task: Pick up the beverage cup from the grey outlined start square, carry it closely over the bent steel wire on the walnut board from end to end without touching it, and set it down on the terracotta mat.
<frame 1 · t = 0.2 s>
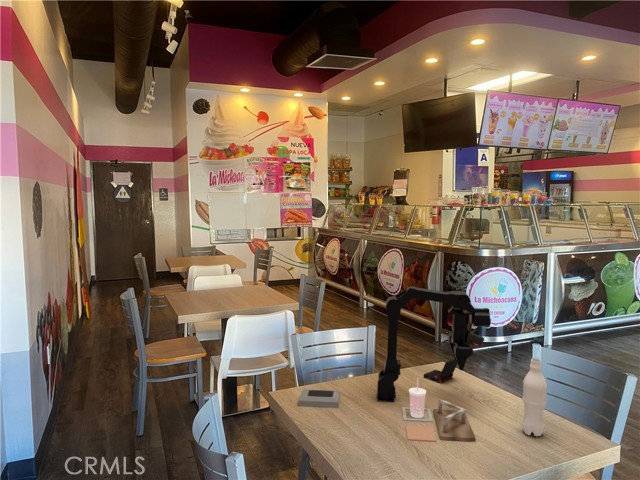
hand: (459, 365, 181), 14 cm above the table, tool pointing down, fingers open, 9 cm apart
dark piece: (440, 379, 206), on the table
end mat: (420, 434, 158), on the table
keypad: (319, 403, 183), on the table
water bottle: (532, 433, 158), on the table
beverage cup: (417, 415, 171), resting in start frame
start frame: (417, 414, 171), on the table
wire board: (452, 426, 163), on the table
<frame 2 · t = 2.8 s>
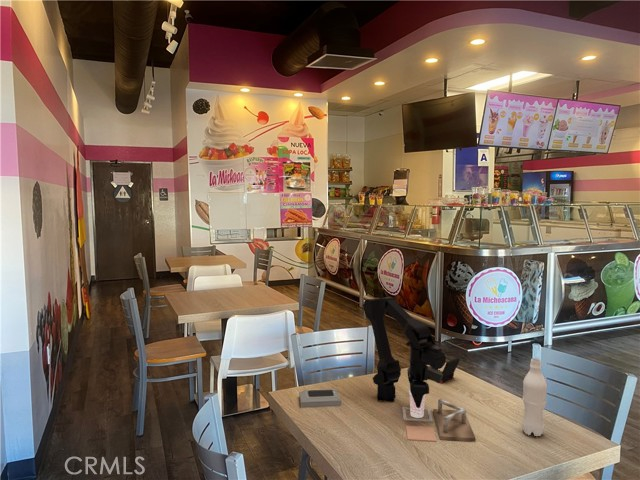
hand: (417, 402, 171), 5 cm above the table, tool pointing down, fingers closed on beverage cup, 8 cm apart
beverage cup: (417, 415, 171), resting in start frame, touching gripper
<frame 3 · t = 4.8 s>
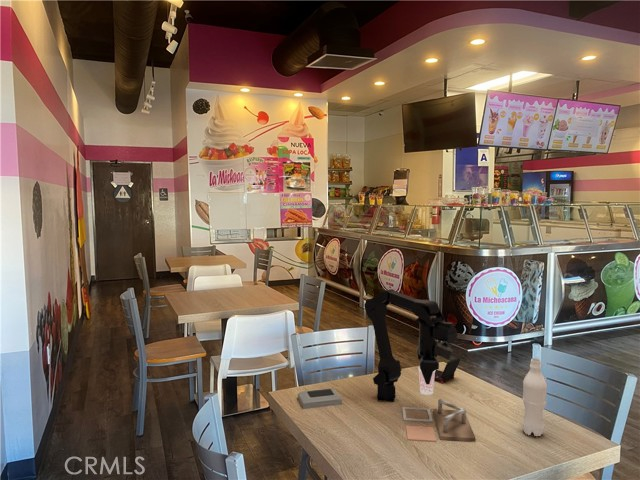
hand: (426, 380, 170), 13 cm above the table, tool pointing down, fingers closed on beverage cup, 7 cm apart
beverage cup: (426, 392, 170), point 8 cm above the table, touching gripper
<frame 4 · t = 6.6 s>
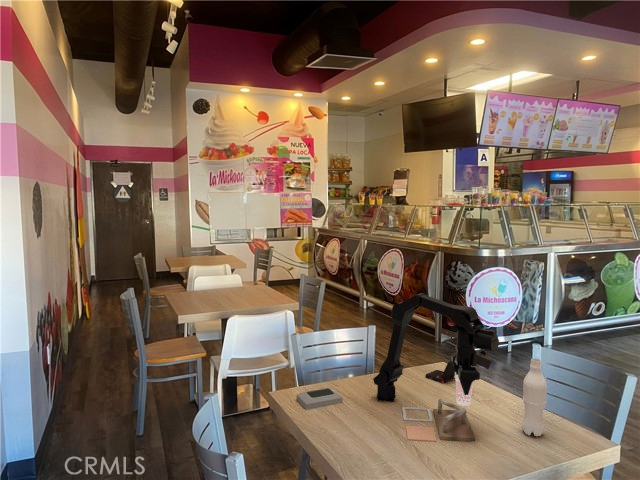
hand: (464, 390, 161), 13 cm above the table, tool pointing down, fingers closed on beverage cup, 7 cm apart
beverage cup: (463, 403, 162), point 8 cm above the table, touching gripper
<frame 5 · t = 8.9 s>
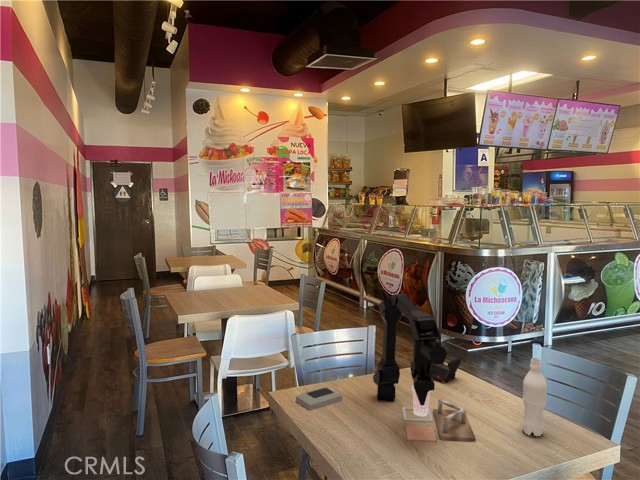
hand: (421, 400, 157), 12 cm above the table, tool pointing down, fingers closed on beverage cup, 7 cm apart
beverage cup: (420, 413, 157), point 7 cm above the table, touching gripper
when the fingers open (6 cm above the table, at t = 10.8 s): beverage cup stays where it is, resting on end mat.
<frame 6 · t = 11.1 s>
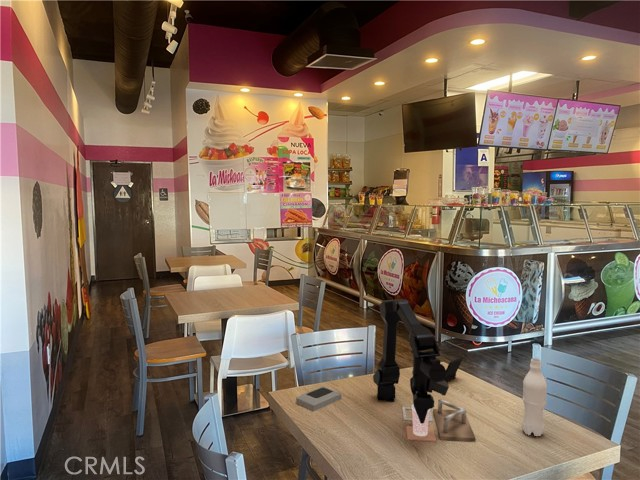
hand: (420, 416, 157), 6 cm above the table, tool pointing down, fingers open, 9 cm apart
beverage cup: (420, 433, 158), resting on end mat
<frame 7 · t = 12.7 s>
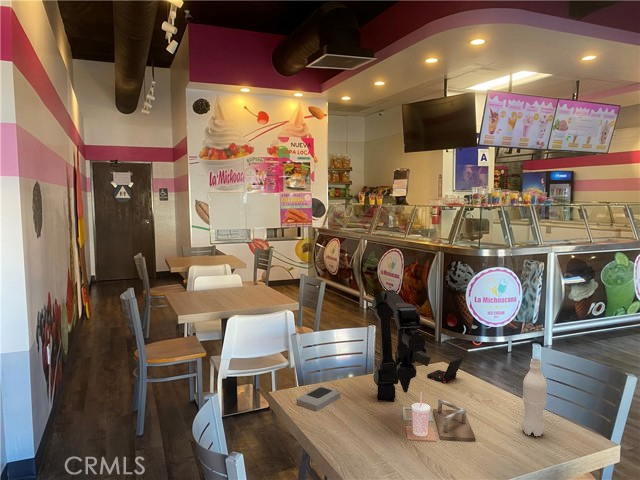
hand: (404, 386, 164), 13 cm above the table, tool pointing down, fingers open, 9 cm apart
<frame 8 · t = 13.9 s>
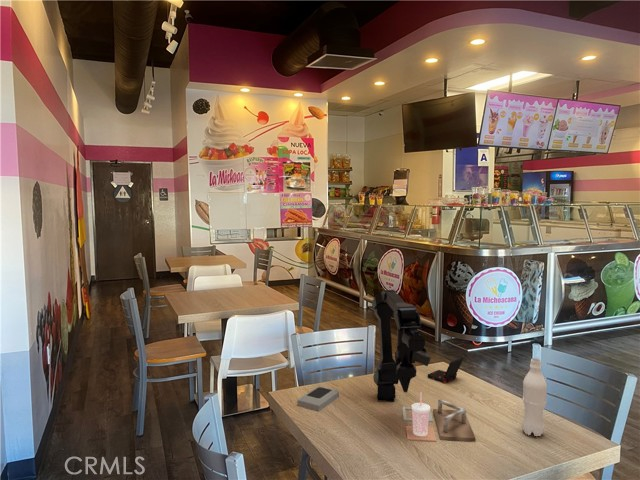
hand: (404, 386, 164), 13 cm above the table, tool pointing down, fingers open, 9 cm apart
at the end: beverage cup 0.1 cm off-centre on the end mat, point 0.2 cm above the end mat's base; beverage cup tilted 0°; beverage cup touching end mat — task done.
